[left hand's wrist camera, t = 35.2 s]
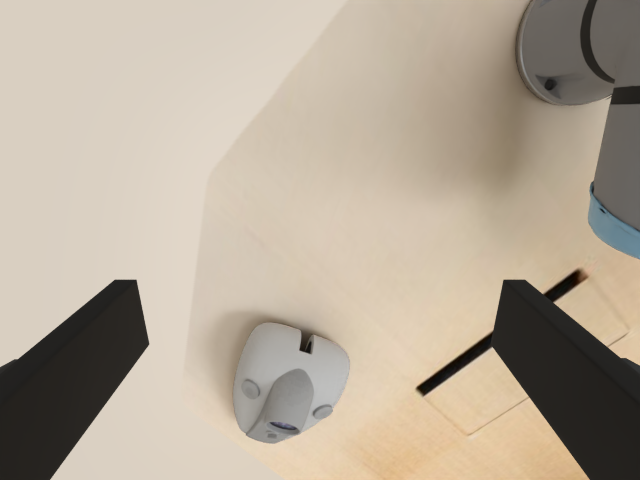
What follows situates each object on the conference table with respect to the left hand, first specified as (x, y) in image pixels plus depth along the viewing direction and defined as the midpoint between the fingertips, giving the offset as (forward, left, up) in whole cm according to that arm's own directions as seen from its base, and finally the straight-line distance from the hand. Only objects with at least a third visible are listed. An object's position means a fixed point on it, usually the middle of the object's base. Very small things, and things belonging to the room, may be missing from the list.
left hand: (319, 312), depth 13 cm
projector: (+34, -11, -37) cm, 51 cm away
